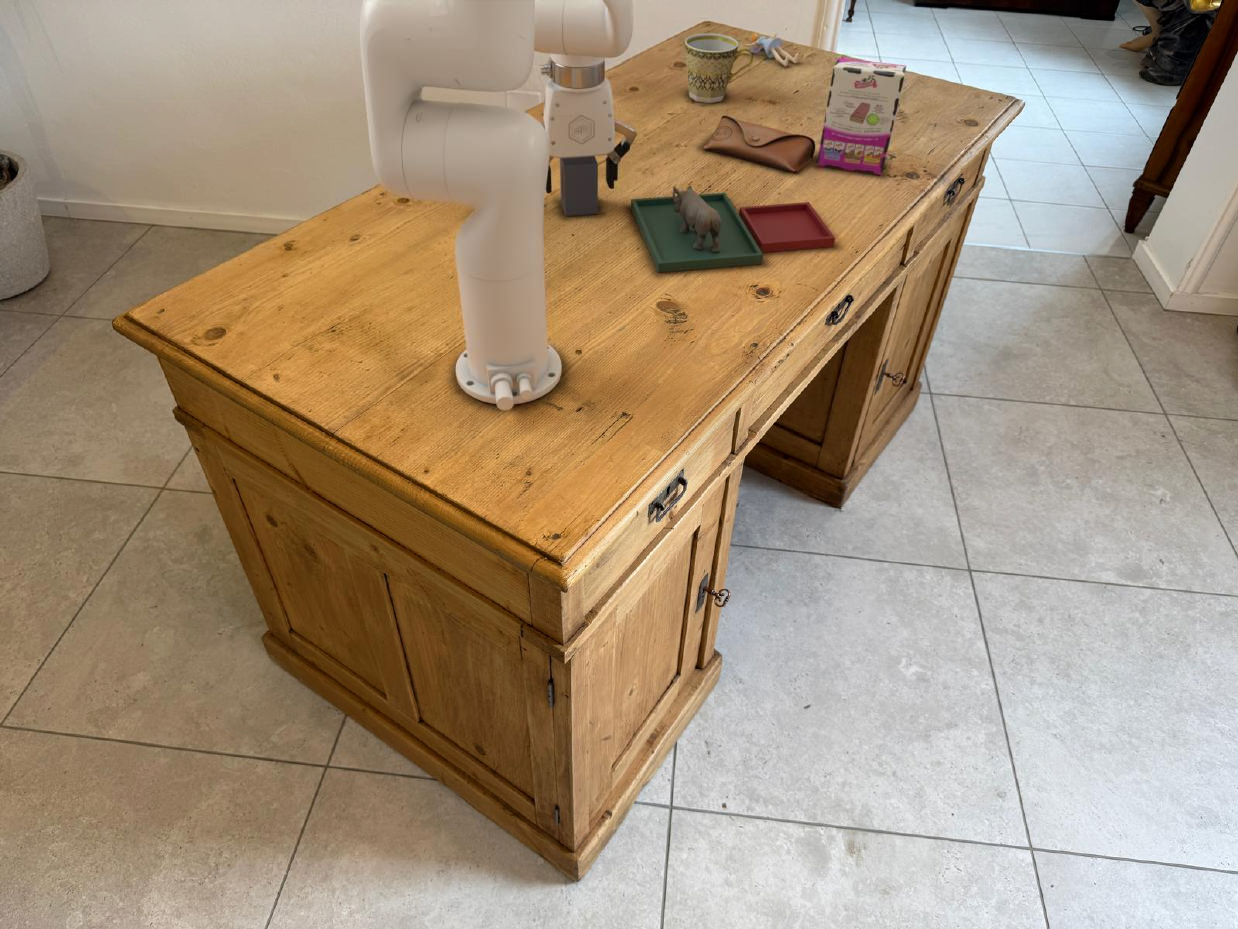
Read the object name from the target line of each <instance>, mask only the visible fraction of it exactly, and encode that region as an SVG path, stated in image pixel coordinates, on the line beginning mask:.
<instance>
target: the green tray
mask: <svg viewBox="0 0 1238 929" xmlns="http://www.w3.org/2000/svg"><path fill="white" fill-rule="evenodd" d="M697 194H698V193H697ZM698 195H699V196H700V197H701V198H702V199H703V200H704V201H705V202H706V203H707V204H708V205H709V206H710V207H712V208H713V209H715V210H716V211H717V212H718V213H719V215H720V218H721V223H722V225H721V230H720V233H719V247H720V251H719V252H716V253H715V252H713V251H711V250H710V248H711V246H712V245H713V241H712V236H711V233H710V231H709V232H708V234H707V235H706V238H705V242H704V243H703V249H701V250H698V249H694V248H693V245H694V243H696V242H697V239H698V234H697V232H696V231H695V229H694V228H692V227H690V226H689V232H688V233H682V232H680V229H681V228H682V227H683V225H684V224H683V221H682V219H681V215H680V213H677V212H675V211H674V209H673V208H674V200H673V195H672V196H670V195H669V196H658V197H643V198H642V197H641V198H632V199H631V198H630V210H631V212H632V214H633V217H634V219H635V221H636V224H637V226H638V227H639V230H640V233H641V235H642V237H643V240H644V243H645V244H646V247H647V249H648V252H649V254H650V256H651V259H652V261H653V263H654V266H655V268H656V270H657V273H671V272H682V271H683V272H684V271H692V270H693V271H694V270H705V269H718V268H729V267H743V266H752V265H762V264H763V258H764V253H762V252H761V250H760V249H759V247H758V245H757V244H756V242H755V240H754V239H753V237H752V236H751V234H750V232H749V231H748V229H747V227H746V226H745V224H744V222H743V221H742V219H741V217H740V216H739V211H737V209H736V207H735V206H734V204H733V202H732V201H731V199H730V198H729V196H728V194H727V192H714V193H700V194H698ZM675 196H676V197H677V195H675Z"/></svg>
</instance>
